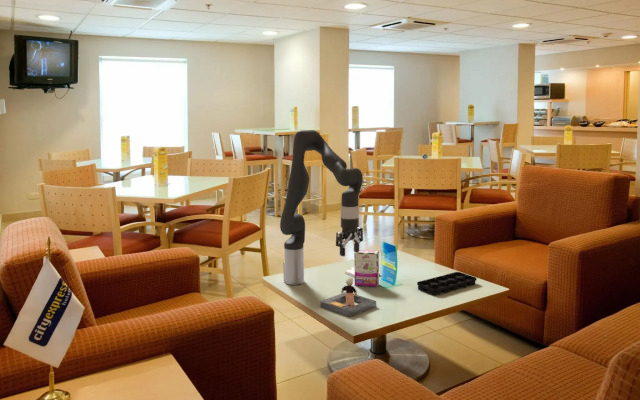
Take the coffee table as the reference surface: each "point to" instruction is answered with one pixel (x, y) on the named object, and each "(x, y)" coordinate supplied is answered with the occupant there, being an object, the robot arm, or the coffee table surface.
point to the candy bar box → (367, 268)
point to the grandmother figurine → (349, 292)
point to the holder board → (337, 307)
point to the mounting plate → (352, 272)
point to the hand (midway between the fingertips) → (349, 254)
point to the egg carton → (446, 283)
